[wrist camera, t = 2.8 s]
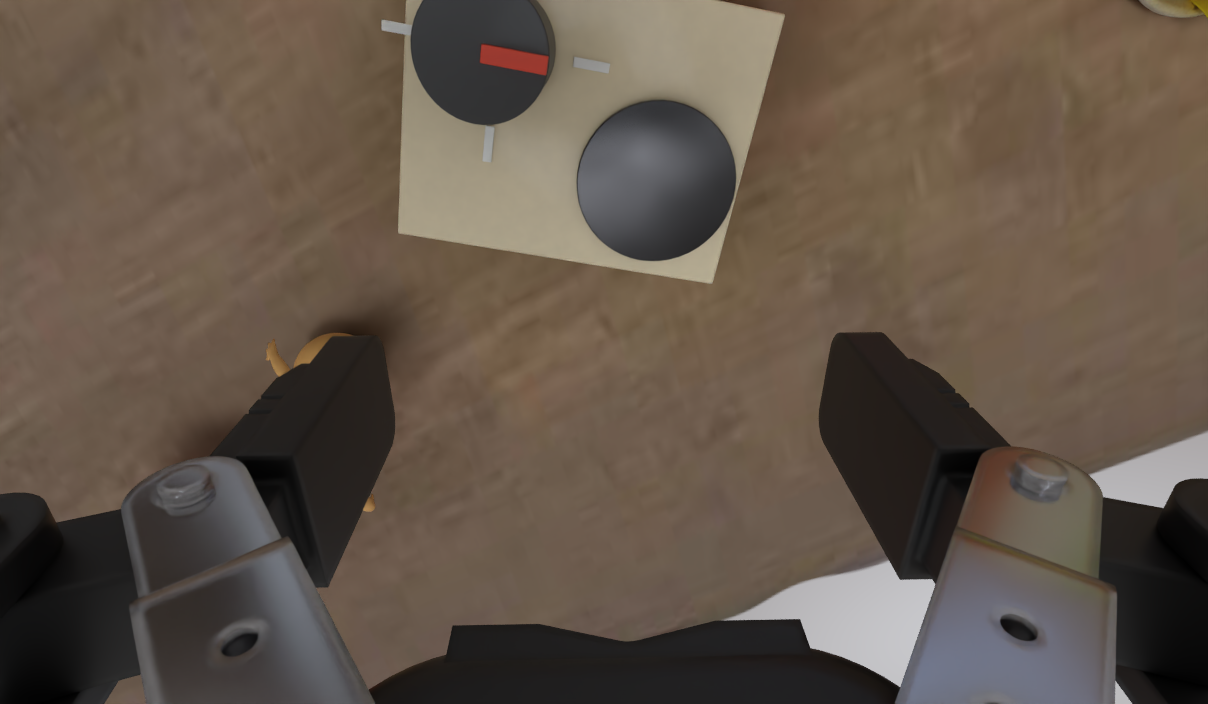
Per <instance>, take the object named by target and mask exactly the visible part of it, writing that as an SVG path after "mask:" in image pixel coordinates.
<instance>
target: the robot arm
mask: <svg viewBox="0 0 1208 704" xmlns="http://www.w3.org/2000/svg"><path fill="white" fill-rule="evenodd" d="M819 428H820V434H821V437H822V440H823V443H824V445H825V446H826V448H827V450H828V452H829V454H830V455H831V457H832V459H833V461H834V462H835V464H836V466H837V468H838V470H839V471H840V473H841V475H842V477H843V479H844V480H845V482H846V484H847V486H848V488H849V489H850V491H851V493H852V495H853V496H854V498H855V500H856V502H857V504H858V505H859V507H860V509H861V511H862V513H863V514H864V516H865V518H866V520H867V522H868V523H869V525H870V527H871V529H872V530H873V532H874V534H875V536H876V538H877V539H878V541H879V543H880V545H881V547H882V548H883V550H884V552H885V554H886V556H887V557H888V559H889V561H890V563H891V564H892V566H893V568H894V570H895V572H896V573H897V575H898V577H899V579H900V580H902V579H903V580H904V579H933V581H934V582H935V584H936V585H935V588H934V591H933V594H932V597H931V600H930V602H929V606H928V608H927V611H926V614H925V617H924V620H923V623H922V626H921V629H920V632H919V634H918V637H917V640H916V643H915V646H914V649H913V652H912V655H911V658H910V661H909V664H908V667H907V670H906V672H905V675H904V678H903V681H902V684H901V687H899V686H897V685H896V684H894V683H893V682H891V681H889V680H888V679H886V678H885V677H883V676H881V675H879V674H877V673H875V672H874V671H871V670H870V669H868V668H866V667H864V666H862V665H860V664H857V663H855V662H852V661H850V660H848V659H845V658H843V657H839V656H837V655H833V654H830V653H827V652H824V651H820V650H816V649H811V648H810V646H809V643H808V641H807V638H806V635H805V632H804V629H803V627H802V624H801V621H800V619H789V620H787V619H786V620H738V621H737V620H736V621H735V620H733V621H713V622H709V623H705V624H701V625H697V626H693V627H689V628H685V629H681V630H677V631H673V632H669V633H665V634H661V635H657V636H653V637H650V638H646V639H642V640H637V641H629V642H625V641H618V640H613V639H608V638H604V637H599V636H594V635H589V634H584V633H579V632H575V631H570V630H565V629H560V628H555V627H551V626H546V625H541V624H516V625H462V626H453V627H452V631H451V636H450V640H449V645H448V650H447V654H446V655H444V656H440V657H436V658H433V659H430V660H427V661H425V662H422V663H419V664H416V665H414V666H411V667H409V668H407V669H405V670H403V671H401V672H399V673H397V674H395V675H392V676H391V677H389V678H387V679H386V680H384V681H382V682H381V683H379V684H377V685H376V686H374V687H372V688H371V689H369V690H368V688H367V686H366V684H365V682H364V680H363V678H362V676H361V674H360V672H359V671H358V669H357V667H356V665H355V663H354V661H353V659H352V657H351V655H350V653H349V651H348V649H347V647H346V645H345V643H344V641H343V640H342V638H341V636H340V634H339V632H338V630H337V628H336V626H335V624H334V622H333V620H332V618H331V616H330V614H329V612H328V610H327V609H326V607H325V605H324V603H323V601H322V599H321V597H320V595H319V593H318V591H317V589H316V588H317V587H328V586H329V584H330V581H331V579H332V577H333V575H334V573H335V570H336V568H337V566H338V564H339V562H340V559H341V557H342V555H343V553H344V551H345V548H346V546H347V544H348V542H349V540H350V537H351V535H352V533H353V531H354V529H355V526H356V524H357V522H358V520H359V518H360V515H361V513H362V511H363V509H364V507H365V504H366V502H367V500H368V498H369V496H370V493H371V491H372V489H373V487H374V485H375V482H376V480H377V478H378V476H379V473H380V471H381V469H382V467H383V465H384V462H385V460H386V458H387V456H388V454H389V451H390V449H391V447H392V444H393V440H394V434H395V412H394V406H393V400H392V394H391V388H390V383H389V377H388V371H387V365H386V359H385V354H384V348H383V345H382V342H381V340H380V338H379V337H378V336H332V337H331V338H330V339H329V340H328V341H327V342H326V344H325V345H324V346H323V347H322V349H321V350H320V351H319V352H318V354H317V355H316V356H315V357H314V359H313V360H312V361H311V362H310V363H301V364H300V365H298V366H296V367H295V368H293V369H291V370H290V371H288V372H286V373H285V374H283V375H281V376H280V377H278V378H276V379H275V381H274V382H273V383H272V384H271V385H270V386H269V387H268V389H267V390H266V391H265V392H264V393H263V394H262V396H261V399H258V400H257V401H256V403H255V404H254V405H253V406H252V407H251V408H250V410H249V414H245V415H244V417H243V418H242V419H241V420H240V421H239V422H238V424H237V425H236V426H235V427H234V428H233V429H232V431H231V432H230V433H229V434H228V435H227V436H226V438H225V439H224V440H223V441H222V442H221V443H220V444H219V446H218V447H217V448H216V449H215V450H214V451H213V453H212V454H211V455H210V456H209V457H201V458H195V459H191V460H186V461H183V462H180V463H176V464H174V465H171V466H168V467H166V468H164V469H162V470H160V471H157V472H156V473H154V474H152V475H150V476H148V477H147V478H145V479H144V480H143V481H141V482H140V483H139V484H137V485H136V486H135V487H134V488H133V489H132V490H131V491H130V492H129V493H128V494H127V496H126V497H125V499H124V500H123V503H122V506H121V509H119V510H115V511H110V512H105V513H101V514H96V515H91V516H86V517H81V518H77V519H72V520H67V521H62V522H57V523H56V522H55V520H54V518H53V516H52V514H51V512H50V510H49V508H48V506H47V504H46V502H45V500H44V499H43V498H41V497H40V496H37V495H34V494H30V493H7V494H0V704H104V703H105V701H106V700H107V698H108V697H109V695H110V694H111V692H112V690H113V689H114V687H115V686H116V684H117V682H118V681H119V680H122V679H126V678H129V677H133V676H136V675H140V674H141V677H142V683H143V688H144V694H145V699H146V704H1115V680H1116V682H1117V683H1118V684H1119V686H1120V687H1121V689H1122V690H1123V691H1124V692H1125V694H1126V695H1127V697H1128V698H1129V700H1130V701H1131V702H1132V704H1208V479H1188V480H1184V481H1181V482H1179V483H1178V484H1177V485H1175V487H1174V489H1173V491H1172V493H1171V495H1170V497H1169V499H1168V501H1167V503H1166V505H1165V507H1164V508H1159V507H1154V506H1148V505H1143V504H1137V503H1131V502H1126V501H1121V500H1115V499H1110V498H1105V497H1103V495H1102V492H1101V489H1100V487H1099V486H1098V485H1097V483H1096V482H1095V481H1094V480H1093V479H1092V478H1091V477H1090V476H1089V475H1088V474H1086V473H1085V472H1084V471H1082V470H1081V469H1079V468H1078V467H1076V466H1075V465H1073V464H1071V463H1069V462H1067V461H1065V460H1063V459H1061V458H1058V457H1056V456H1054V455H1051V454H1048V453H1045V452H1041V451H1038V450H1034V449H1028V448H1023V447H1011V446H1010V445H1009V444H1008V443H1007V442H1006V440H1005V439H1004V438H1003V437H1002V436H1001V435H1000V434H999V433H998V432H997V431H996V430H995V429H994V428H993V427H992V426H991V425H990V424H989V423H988V422H987V421H986V420H985V419H984V418H983V417H982V416H981V415H980V414H979V413H978V412H977V411H976V410H975V409H974V408H969V403H968V402H967V401H966V400H965V399H964V398H963V397H962V396H961V395H960V394H959V393H955V389H954V388H953V387H952V386H951V385H950V384H949V383H948V382H947V381H946V380H945V379H944V378H943V377H942V376H941V375H940V374H939V373H937V372H936V371H934V370H932V369H930V368H928V367H927V366H925V365H923V364H921V363H919V362H917V361H916V360H914V359H908V358H907V357H906V356H905V355H904V354H903V353H902V352H901V351H900V350H899V349H898V348H897V347H896V346H895V345H894V343H893V342H892V341H891V340H890V339H889V338H888V337H887V336H886V335H885V334H884V333H881V332H856V333H837V334H836V335H835V337H834V338H833V341H832V344H831V348H830V353H829V358H828V364H827V369H826V375H825V380H824V386H823V391H822V397H821V402H820V408H819Z"/></svg>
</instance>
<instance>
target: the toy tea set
mask: <svg viewBox="0 0 1208 704" xmlns="http://www.w3.org/2000/svg"><path fill="white" fill-rule="evenodd" d="M1139 1H1140V2H1141V3H1142V4H1143V5H1144V6H1145V7H1146V8H1148V9H1150V10H1151V11H1153V12H1155V13H1158V14H1160V15H1164V16H1169V17H1180V18H1184V17H1195V16H1199V15H1203V14H1205V15H1206V17H1207V18H1208V0H1139Z"/></svg>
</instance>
